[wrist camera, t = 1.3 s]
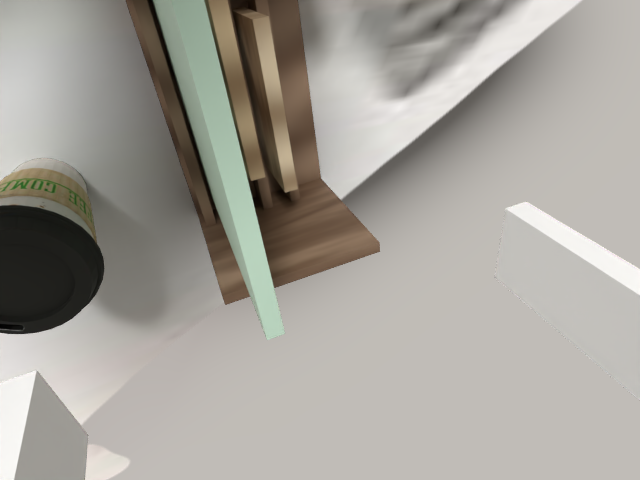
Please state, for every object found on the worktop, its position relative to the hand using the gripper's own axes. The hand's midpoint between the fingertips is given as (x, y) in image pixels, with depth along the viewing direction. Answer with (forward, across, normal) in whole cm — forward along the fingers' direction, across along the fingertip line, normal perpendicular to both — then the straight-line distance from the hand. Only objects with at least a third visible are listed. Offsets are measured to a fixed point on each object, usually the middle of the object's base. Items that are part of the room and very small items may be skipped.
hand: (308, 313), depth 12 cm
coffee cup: (+34, -14, -8) cm, 38 cm away
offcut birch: (+33, +6, -3) cm, 33 cm away
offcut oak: (+33, +3, +2) cm, 33 cm away
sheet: (+33, 0, 0) cm, 33 cm away
